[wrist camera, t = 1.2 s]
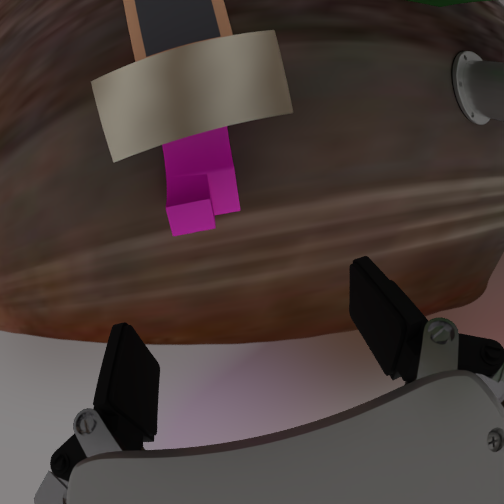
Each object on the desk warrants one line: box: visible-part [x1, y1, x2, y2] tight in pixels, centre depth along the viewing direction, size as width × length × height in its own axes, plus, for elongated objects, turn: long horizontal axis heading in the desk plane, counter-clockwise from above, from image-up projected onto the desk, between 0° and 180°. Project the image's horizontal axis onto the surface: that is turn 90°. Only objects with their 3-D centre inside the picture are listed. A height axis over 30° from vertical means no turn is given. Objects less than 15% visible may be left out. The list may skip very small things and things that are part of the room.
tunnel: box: [91, 30, 293, 162], centre depth 19 cm, size 12×6×11 cm, turn 102°
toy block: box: [162, 126, 240, 236], centre depth 22 cm, size 15×6×8 cm, turn 6°
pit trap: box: [123, 0, 233, 62], centre depth 18 cm, size 10×11×1 cm
